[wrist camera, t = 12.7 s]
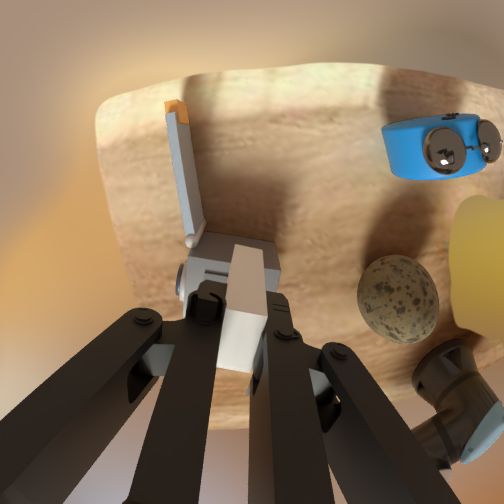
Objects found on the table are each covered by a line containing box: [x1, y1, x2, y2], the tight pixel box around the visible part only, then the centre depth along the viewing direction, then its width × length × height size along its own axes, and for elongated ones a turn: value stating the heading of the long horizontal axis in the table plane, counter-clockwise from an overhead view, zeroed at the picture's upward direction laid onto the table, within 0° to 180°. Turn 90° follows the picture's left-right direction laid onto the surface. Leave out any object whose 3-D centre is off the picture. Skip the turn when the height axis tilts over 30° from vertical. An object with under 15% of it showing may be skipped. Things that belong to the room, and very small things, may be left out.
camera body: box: [176, 231, 281, 318], centre depth 37 cm, size 11×8×10 cm
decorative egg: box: [357, 255, 439, 344], centre depth 35 cm, size 11×11×15 cm
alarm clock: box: [382, 113, 503, 180], centre depth 28 cm, size 13×6×15 cm, turn 109°
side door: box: [164, 99, 207, 248], centre depth 33 cm, size 16×1×7 cm, turn 7°
